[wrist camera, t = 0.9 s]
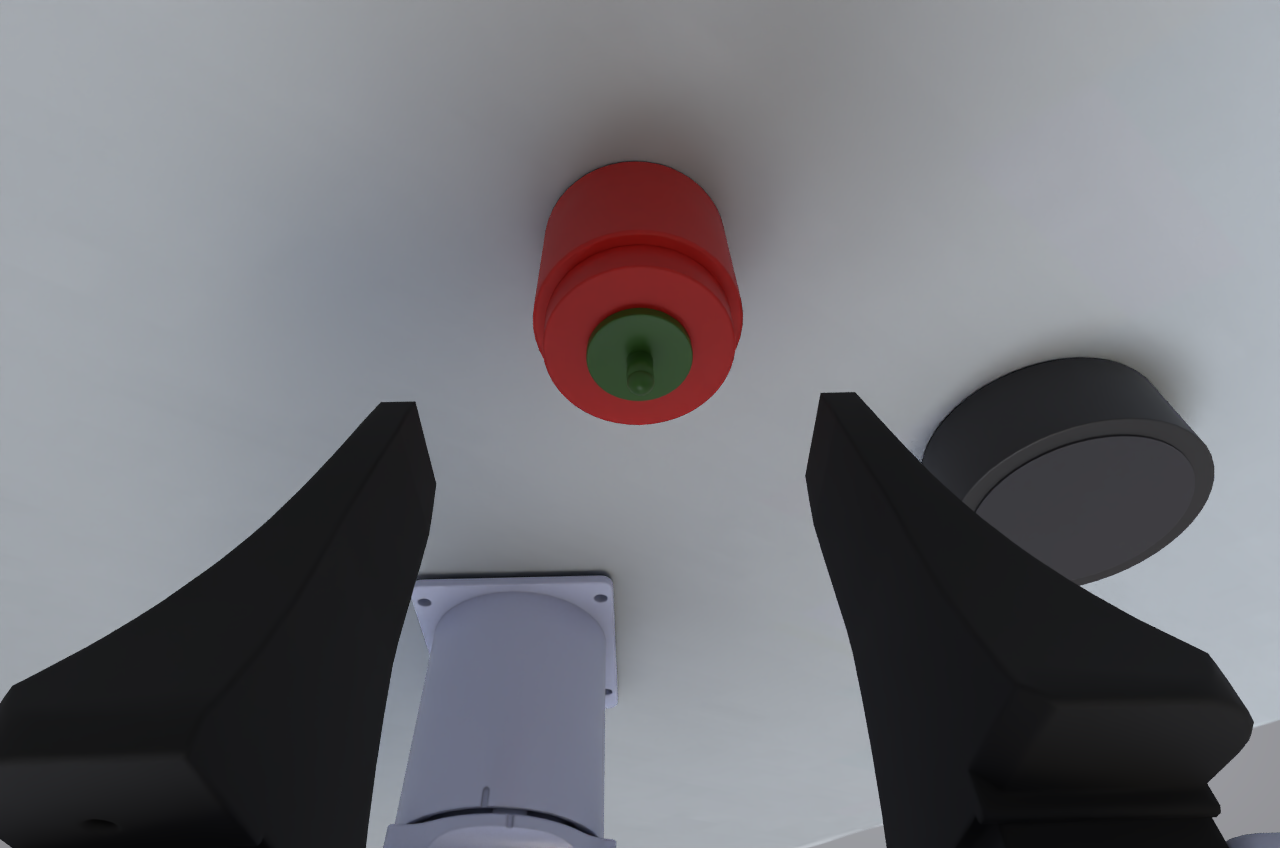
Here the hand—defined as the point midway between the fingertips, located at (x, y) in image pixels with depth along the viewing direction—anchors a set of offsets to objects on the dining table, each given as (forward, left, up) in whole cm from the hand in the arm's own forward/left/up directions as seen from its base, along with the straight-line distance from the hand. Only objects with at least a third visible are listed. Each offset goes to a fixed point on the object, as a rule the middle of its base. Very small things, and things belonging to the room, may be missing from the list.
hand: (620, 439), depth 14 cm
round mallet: (-18, -14, -9) cm, 25 cm away
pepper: (-1, 0, -9) cm, 9 cm away
